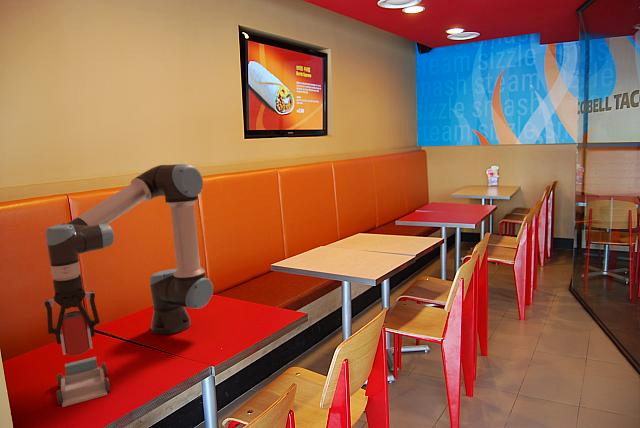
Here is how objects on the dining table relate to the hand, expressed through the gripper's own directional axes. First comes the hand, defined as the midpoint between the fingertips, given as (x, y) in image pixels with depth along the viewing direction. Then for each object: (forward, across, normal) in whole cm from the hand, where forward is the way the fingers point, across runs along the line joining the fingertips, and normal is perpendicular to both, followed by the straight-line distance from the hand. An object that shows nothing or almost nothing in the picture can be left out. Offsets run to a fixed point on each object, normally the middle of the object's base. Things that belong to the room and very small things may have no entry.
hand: (78, 350), depth 151 cm
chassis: (+13, 0, 0) cm, 13 cm away
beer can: (+1, 0, 0) cm, 1 cm away
